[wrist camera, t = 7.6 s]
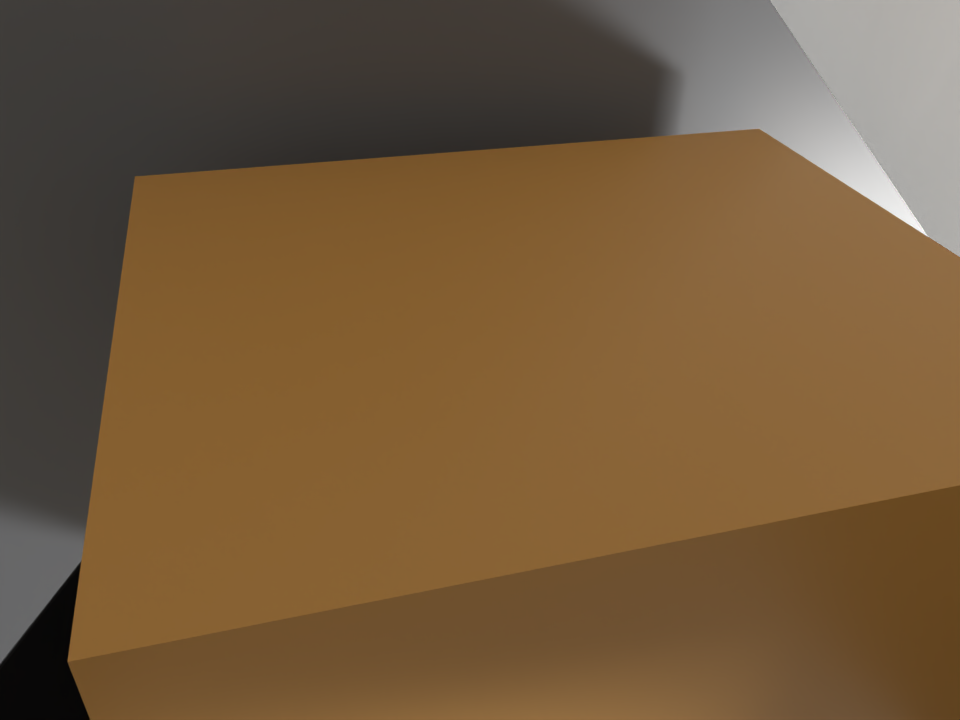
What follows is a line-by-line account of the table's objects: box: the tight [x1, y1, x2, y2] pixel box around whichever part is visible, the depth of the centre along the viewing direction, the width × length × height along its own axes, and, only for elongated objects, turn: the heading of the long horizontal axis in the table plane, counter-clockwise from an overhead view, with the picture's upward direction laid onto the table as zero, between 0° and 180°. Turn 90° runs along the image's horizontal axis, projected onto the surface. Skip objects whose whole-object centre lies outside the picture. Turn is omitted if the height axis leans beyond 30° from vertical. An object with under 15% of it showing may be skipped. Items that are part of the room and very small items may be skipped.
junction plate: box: [0, 0, 928, 663], centre depth 12 cm, size 18×12×2 cm, turn 134°
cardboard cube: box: [67, 129, 960, 720], centre depth 8 cm, size 6×6×5 cm
